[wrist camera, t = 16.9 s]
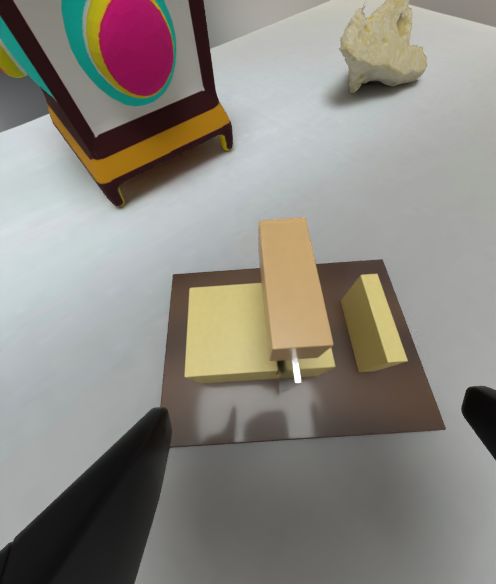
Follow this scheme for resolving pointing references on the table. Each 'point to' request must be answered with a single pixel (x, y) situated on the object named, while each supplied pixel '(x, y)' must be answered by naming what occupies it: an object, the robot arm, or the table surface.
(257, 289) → the butter block
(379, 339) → the butter slice
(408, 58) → the cream rough rock
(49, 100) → the decorative lantern
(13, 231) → the table surface
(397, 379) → the board
